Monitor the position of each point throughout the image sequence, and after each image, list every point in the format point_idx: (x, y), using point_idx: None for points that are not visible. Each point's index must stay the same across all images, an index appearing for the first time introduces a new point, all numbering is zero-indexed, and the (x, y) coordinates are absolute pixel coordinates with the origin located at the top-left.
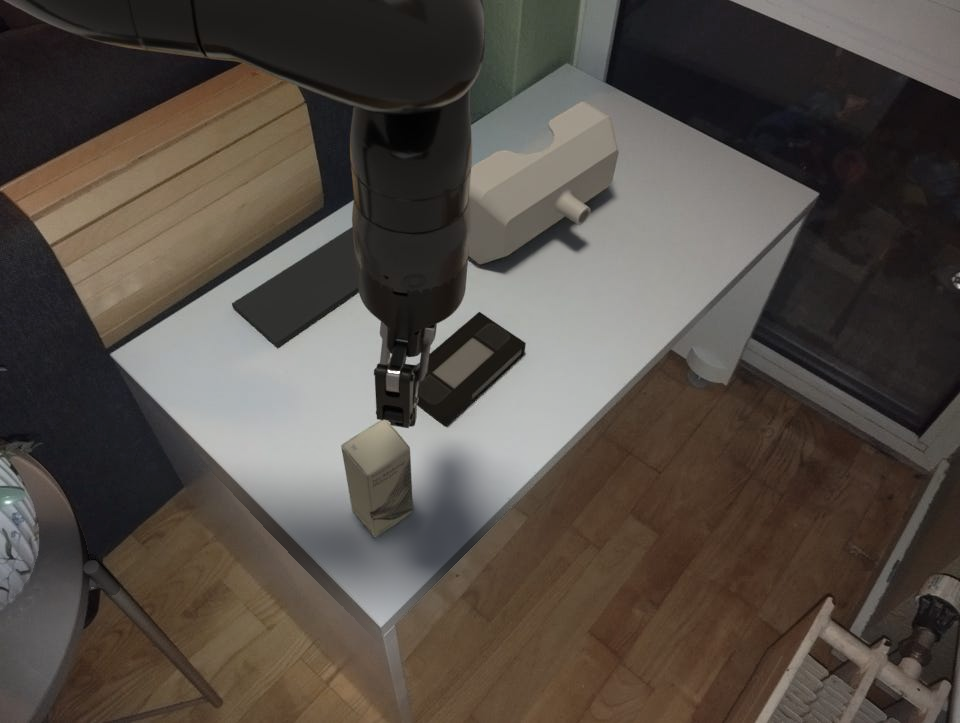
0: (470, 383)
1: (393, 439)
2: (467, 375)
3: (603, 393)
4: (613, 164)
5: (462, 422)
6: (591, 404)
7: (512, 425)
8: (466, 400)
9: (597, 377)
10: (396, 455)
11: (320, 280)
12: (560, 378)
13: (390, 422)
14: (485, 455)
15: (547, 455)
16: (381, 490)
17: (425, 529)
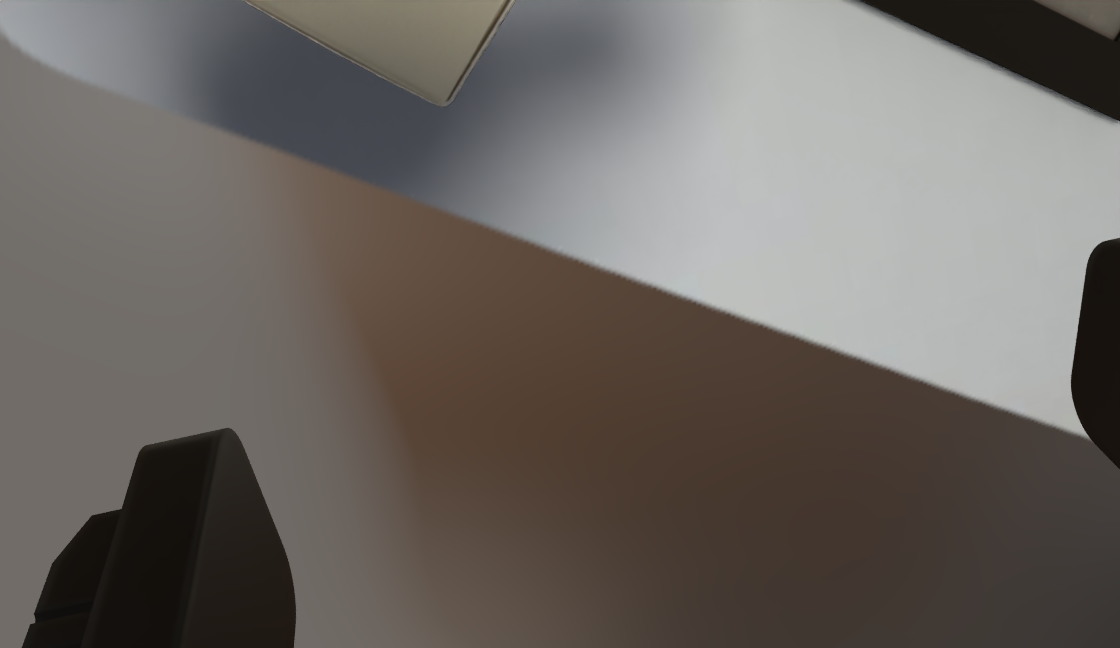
0: (964, 2)
1: (459, 3)
2: None
3: (986, 387)
4: None
5: (802, 9)
6: (943, 370)
7: (825, 179)
8: (888, 12)
9: (1042, 355)
10: (370, 62)
11: None
12: (1027, 259)
13: (42, 592)
14: (690, 136)
15: (739, 315)
16: None
17: None
